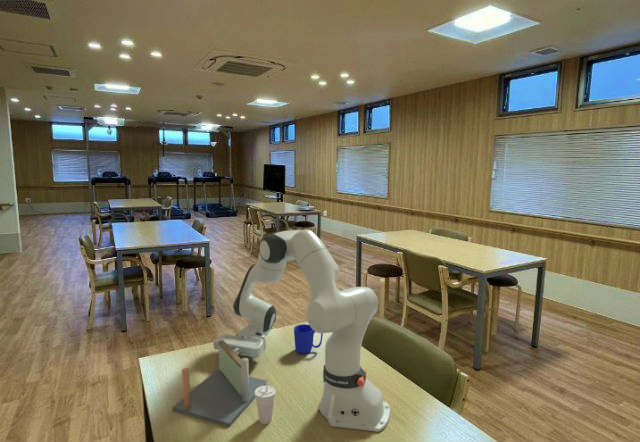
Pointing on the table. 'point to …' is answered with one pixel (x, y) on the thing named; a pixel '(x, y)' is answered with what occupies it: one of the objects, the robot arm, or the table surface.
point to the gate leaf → (230, 365)
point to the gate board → (218, 396)
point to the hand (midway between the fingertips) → (227, 355)
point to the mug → (304, 338)
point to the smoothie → (265, 402)
